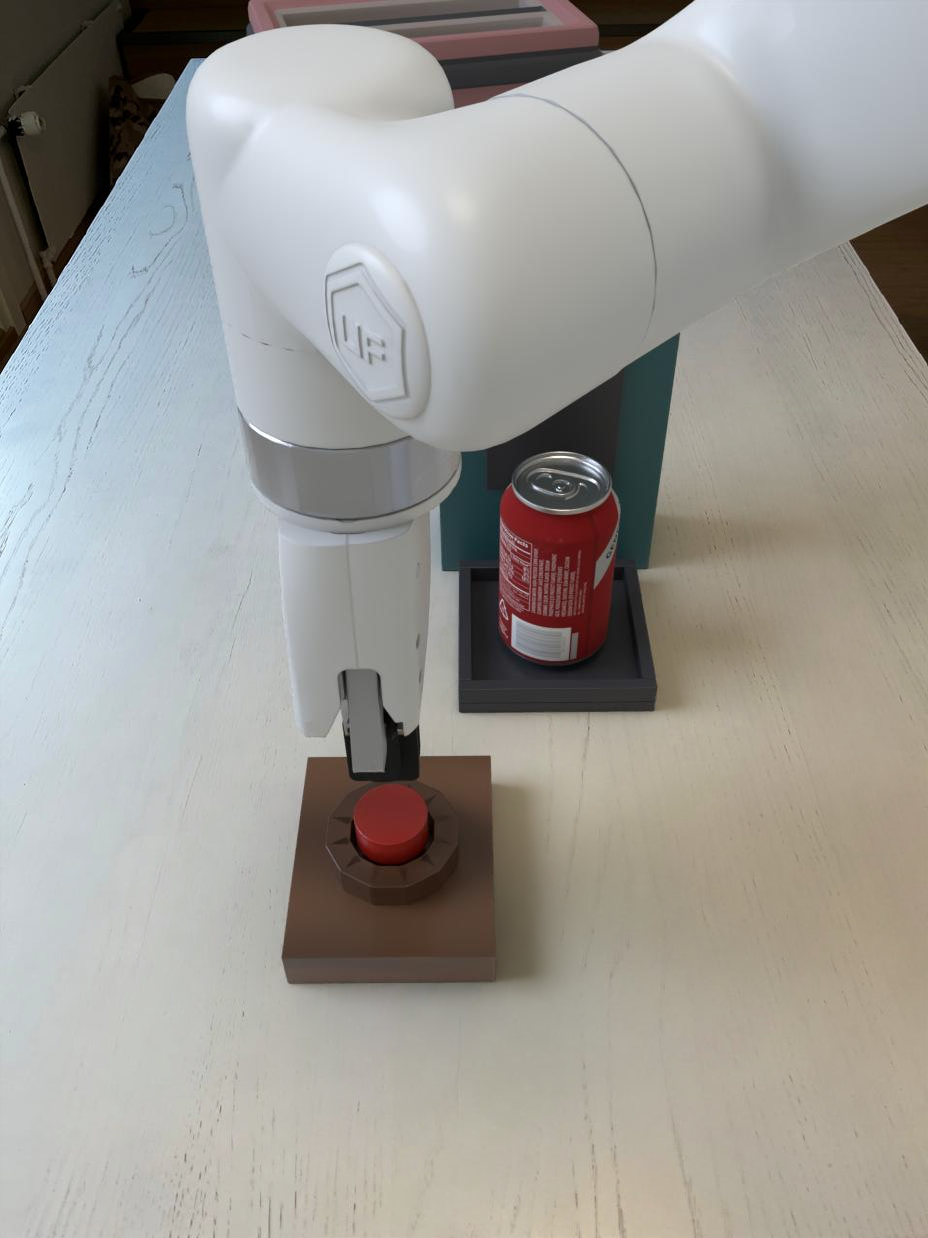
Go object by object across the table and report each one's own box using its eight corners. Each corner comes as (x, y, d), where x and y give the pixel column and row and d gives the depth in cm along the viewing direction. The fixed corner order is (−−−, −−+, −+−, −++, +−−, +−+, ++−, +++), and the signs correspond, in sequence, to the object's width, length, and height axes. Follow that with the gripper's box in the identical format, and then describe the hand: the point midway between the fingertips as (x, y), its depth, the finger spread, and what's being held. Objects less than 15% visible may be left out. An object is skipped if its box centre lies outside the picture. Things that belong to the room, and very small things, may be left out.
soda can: (573, 689, 65) (586, 533, 57) (478, 646, 68) (477, 491, 59) (625, 623, 69) (644, 468, 61) (533, 584, 72) (539, 431, 63)
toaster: (628, 251, 108) (650, 24, 94) (286, 295, 103) (255, 60, 88) (568, 177, 122) (579, -32, 108) (263, 212, 116) (232, -4, 102)
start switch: (495, 982, 52) (495, 939, 50) (287, 983, 52) (276, 940, 50) (490, 782, 61) (490, 736, 58) (312, 783, 61) (304, 737, 58)
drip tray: (654, 711, 65) (657, 688, 63) (458, 712, 65) (458, 689, 63) (632, 580, 73) (635, 558, 72) (459, 582, 73) (458, 559, 72)
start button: (427, 865, 53) (426, 844, 52) (353, 865, 53) (350, 844, 52) (429, 804, 56) (428, 783, 54) (359, 805, 56) (356, 784, 54)
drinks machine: (651, 572, 74) (697, 246, 58) (438, 574, 74) (426, 249, 58) (639, 510, 79) (679, 193, 63) (440, 512, 79) (429, 196, 63)
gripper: (272, 326, 43) (320, 651, 56) (208, 578, 32) (285, 910, 45) (461, 323, 43) (466, 649, 56) (460, 575, 32) (467, 909, 45)
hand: (385, 765), depth 50 cm, fingers closed
